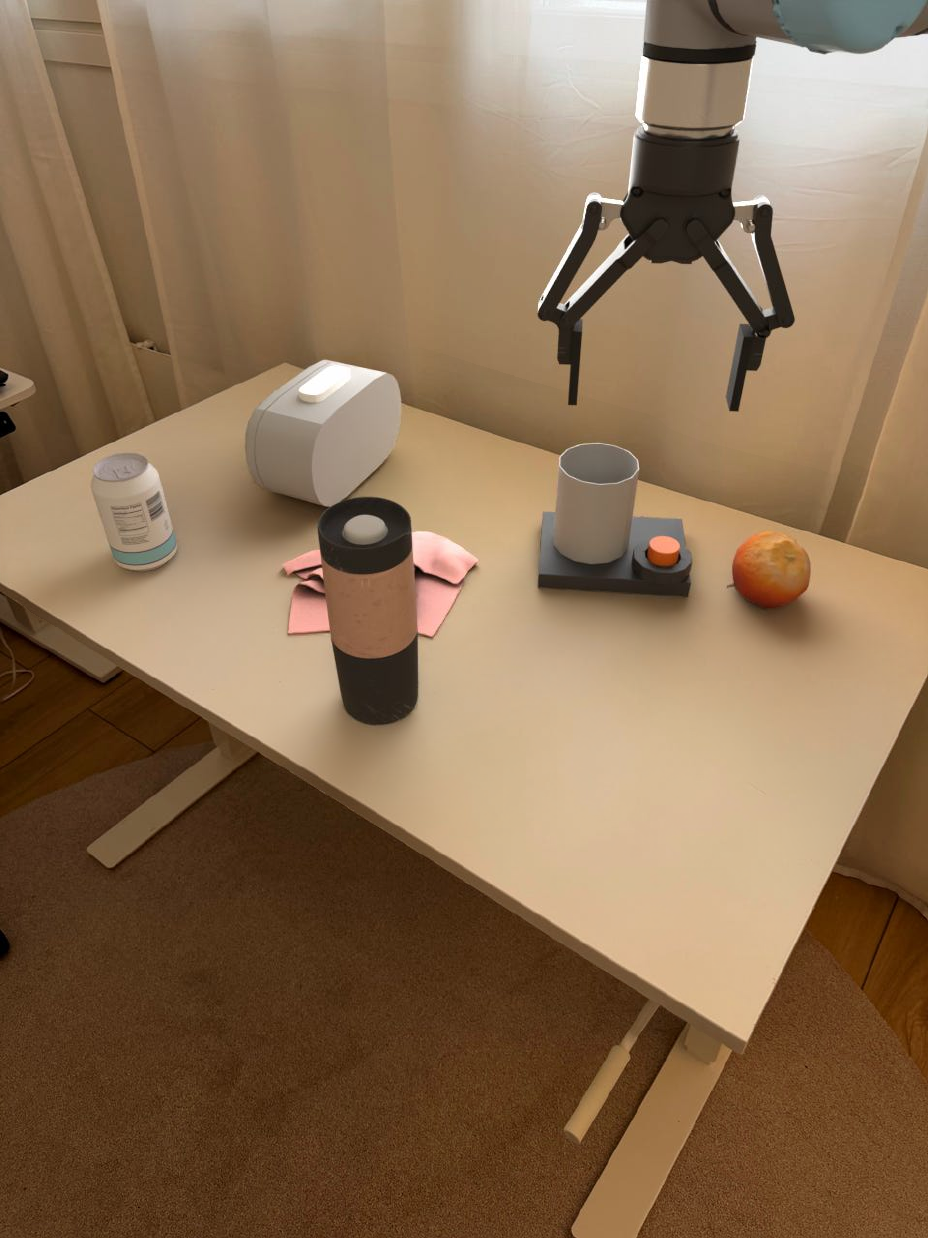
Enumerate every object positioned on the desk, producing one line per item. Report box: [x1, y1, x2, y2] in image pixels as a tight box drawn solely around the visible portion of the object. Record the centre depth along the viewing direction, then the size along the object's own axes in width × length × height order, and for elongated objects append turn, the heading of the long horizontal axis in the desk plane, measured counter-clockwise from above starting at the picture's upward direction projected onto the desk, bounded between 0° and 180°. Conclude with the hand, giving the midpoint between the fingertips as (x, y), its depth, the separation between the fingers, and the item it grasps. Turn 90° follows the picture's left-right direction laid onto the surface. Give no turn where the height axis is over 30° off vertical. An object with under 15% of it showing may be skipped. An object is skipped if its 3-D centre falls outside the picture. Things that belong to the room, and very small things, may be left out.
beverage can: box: [90, 452, 178, 572], centre depth 97 cm, size 7×7×12 cm
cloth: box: [282, 530, 480, 638], centre depth 96 cm, size 20×22×2 cm
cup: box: [553, 442, 640, 564], centre depth 96 cm, size 8×8×10 cm
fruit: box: [726, 530, 812, 610], centre depth 93 cm, size 8×8×8 cm
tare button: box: [647, 536, 680, 566], centre depth 94 cm, size 3×3×2 cm
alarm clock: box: [244, 359, 402, 508], centre depth 109 cm, size 21×10×13 cm, turn 154°
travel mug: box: [317, 496, 419, 726], centre depth 77 cm, size 8×8×20 cm
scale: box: [537, 511, 693, 598], centre depth 99 cm, size 16×13×4 cm
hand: (651, 401), depth 77 cm, fingers open, 13 cm apart
